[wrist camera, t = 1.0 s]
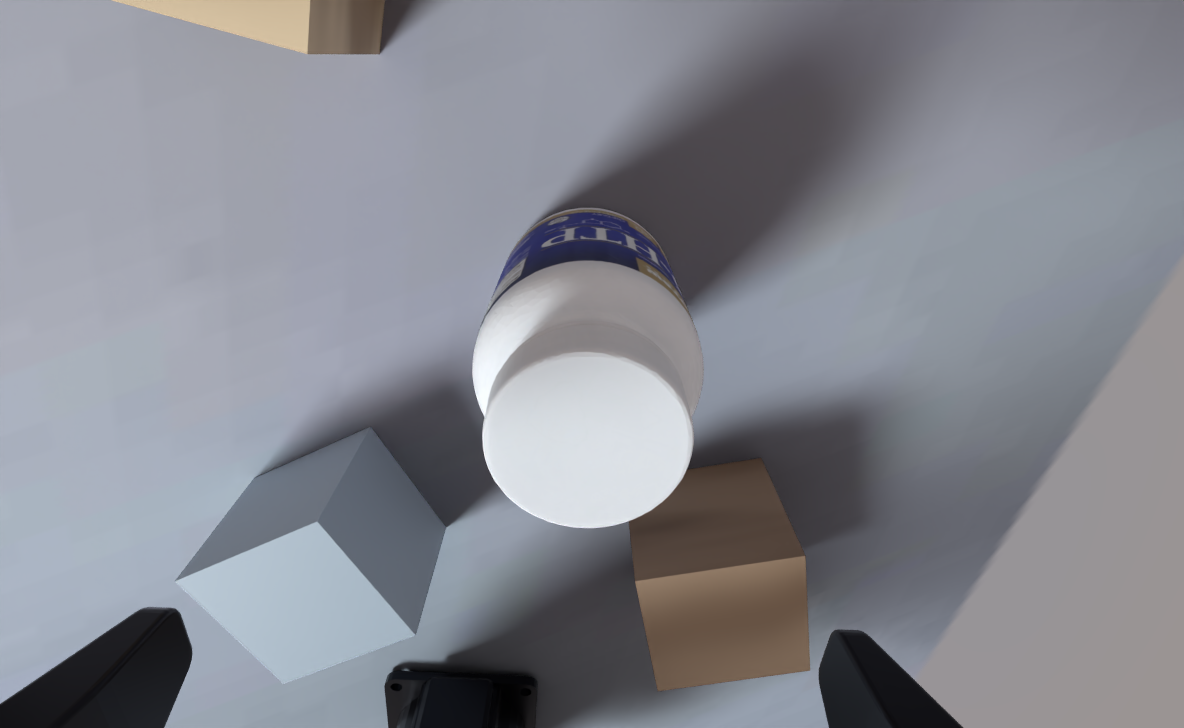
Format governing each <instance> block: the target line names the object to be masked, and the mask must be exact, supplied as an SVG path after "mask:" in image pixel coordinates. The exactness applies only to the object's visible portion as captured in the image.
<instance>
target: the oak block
mask: <svg viewBox="0 0 1184 728" xmlns="http://www.w3.org/2000/svg"><path fill="white" fill-rule="evenodd" d="M112 1H116V2H120V3H123V4H127V5H131V6H134V7H138V8H141V9H145V10H149V11H152V12H156V13H160V14H163V15H167V16H171V17H174V18H178V19H182V20H185V21H189V22H192V23H196V24H200V25H203V26H207V27H211V28H214V29H218V30H222V31H225V32H229V33H232V34H236V35H240V36H243V37H247V38H251V39H254V40H258V41H262V42H265V43H269V44H273V45H276V46H280V47H283V48H287V49H291V50H294V51H298V52H302V53H305V54H380V45H381V35H382V25H383V15H384V5H385V0H112Z"/></svg>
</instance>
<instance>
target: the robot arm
mask: <svg viewBox="0 0 1184 728" xmlns="http://www.w3.org/2000/svg"><path fill="white" fill-rule="evenodd" d="M191 660H192V646H191V643H190V640H189V637H188V634H187V631H186V628H185V625H184V623H183V620H182V617H181V614H180V612H179V611H177V610H176V609H175V608H162V607H147V608H143V609H141V610H139V611H137V612H135V613H134V614H132V615H131V616H129V617H128V618H126V619H125V620H123V621H122V622H120V623H119V624H117V625H116V626H114V627H113V628H111V629H110V630H109V631H107V632H106V633H104V634H103V635H101V636H100V637H98V638H97V639H95V640H94V641H92V642H91V643H89V644H88V645H86V646H85V647H83V648H82V649H81V650H79V651H78V652H76V653H75V654H73V655H72V656H70V657H69V658H67V659H66V660H64V661H63V662H61V663H60V664H58V665H57V666H55V667H54V668H52V669H51V670H50V671H48V672H47V673H45V674H44V675H42V676H41V677H39V678H38V679H36V680H35V681H33V682H32V683H30V684H29V685H27V686H26V687H24V688H23V689H22V690H20V691H19V692H17V693H16V694H14V695H13V696H11V697H10V698H8V699H7V700H5V701H4V702H2V703H1V704H0V728H164V727H165V724H166V722H167V720H168V717H169V715H170V712H171V710H172V708H173V705H174V703H175V701H176V698H177V696H178V693H179V691H180V689H181V686H182V684H183V682H184V679H185V677H186V674H187V672H188V670H189V667H190V664H191ZM819 684H820V689H821V694H822V698H823V703H824V707H825V712H826V716H827V721H828V725H829V728H963V727H962V726H961V725H960V724H959V723H958V722H957V721H956V720H955V719H954V718H953V717H952V716H951V715H950V714H948V712H947V711H946V710H945V709H943V708H942V707H941V706H940V705H939V704H938V703H937V702H936V701H935V700H934V699H933V698H932V697H931V696H930V695H929V694H928V693H927V692H926V691H925V690H924V689H923V688H922V687H921V686H920V685H919V684H918V683H917V682H916V681H915V680H914V679H913V678H912V677H911V676H910V675H909V674H908V673H907V672H906V671H905V670H904V669H902V668H901V667H900V666H899V665H898V664H897V663H896V662H895V661H894V660H893V659H892V658H891V657H890V656H889V655H888V654H887V653H886V652H885V651H884V650H883V649H882V648H881V647H880V646H879V645H878V644H877V643H876V642H875V641H874V640H873V639H872V638H871V637H870V636H868V635H867V634H866V633H864V632H862V631H859V630H835V631H834V632H832V633H831V635H830V638H829V641H828V644H827V646H826V649H825V652H824V655H823V658H822V661H821V664H820V667H819ZM537 686H538V684H537V681H536V680H535V679H534V678H532V677H529V676H512V675H487V674H461V673H436V672H410V671H394V672H391V673H390V674H389V675H388V676H387V680H386V683H385V696H386V706H387V716H388V727H389V728H535V718H536V702H537Z"/></svg>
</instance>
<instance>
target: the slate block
mask: <svg viewBox="0 0 1184 728" xmlns="http://www.w3.org/2000/svg"><path fill="white" fill-rule="evenodd" d="M445 530H446V527H445V525H444V524H443V523H442V521H441V520H440V519H439V517H438V516H437V515H436V513H435V512H434V511H433V509H432V508H431V507H430V505H429V504H428V503H427V501H426V500H425V499H424V497H423V496H422V495H421V493H420V492H419V491H418V489H417V488H416V487H415V485H414V484H413V483H412V481H411V480H410V479H409V477H408V476H407V475H406V473H405V472H404V471H403V469H402V468H401V467H400V465H399V464H398V463H397V461H396V460H395V459H394V457H393V456H392V455H391V453H390V452H389V451H388V449H387V448H386V447H385V445H384V444H383V443H382V441H381V440H380V439H379V437H378V436H377V435H376V433H375V432H374V431H373V429H372V428H371V427H368V428H366V429H364V430H362V431H359V432H357V433H355V434H353V435H350V436H348V437H346V438H344V439H341V440H339V441H337V442H335V443H332V444H330V445H328V446H326V447H323V448H321V449H319V450H317V451H314V452H312V453H310V454H308V455H305V456H303V457H301V458H299V459H296V460H294V461H292V462H290V463H287V464H285V465H283V466H281V467H278V468H276V469H274V470H272V471H269V472H267V473H265V474H263V475H260V476H258V477H256V478H254V479H253V480H252V482H251V483H250V484H249V485H248V487H247V488H246V489H245V491H244V492H243V493H242V495H241V496H240V497H239V499H238V500H237V501H236V502H235V504H234V505H233V506H232V508H231V509H230V510H229V512H228V513H227V514H226V515H225V517H224V518H223V519H222V521H221V522H220V523H219V525H218V526H217V527H216V528H215V530H214V531H213V532H212V534H211V535H210V536H209V538H208V539H207V540H206V541H205V543H204V544H203V545H202V547H201V548H200V549H199V551H198V552H197V553H196V554H195V556H194V557H193V558H192V560H191V561H190V562H189V564H188V565H187V566H186V567H185V569H184V570H183V571H182V573H181V574H180V575H179V577H178V578H177V579H176V580H175V582H176V583H177V584H178V585H179V586H180V587H181V588H182V589H183V590H184V591H185V592H187V593H188V594H189V595H190V596H191V597H192V598H193V599H194V600H195V601H196V602H197V603H198V604H199V605H200V606H201V607H202V608H203V609H205V610H206V611H207V612H208V613H209V614H210V615H211V616H212V617H213V618H214V619H215V620H216V621H217V622H218V623H219V624H220V625H221V626H222V627H224V628H225V629H226V630H227V631H228V632H229V633H230V634H231V635H232V636H233V637H234V638H235V639H236V640H237V641H238V642H239V643H240V644H241V645H243V646H244V647H245V648H246V649H247V650H248V651H249V652H250V653H251V654H252V655H253V656H254V657H255V658H256V659H257V660H258V661H259V662H260V663H262V664H263V665H264V666H265V667H266V668H267V669H268V670H269V671H270V672H271V673H272V674H273V675H274V676H275V677H276V678H277V679H278V680H280V681H281V682H282V683H283V684H285V683H288V682H291V681H293V680H296V679H299V678H302V677H304V676H307V675H310V674H312V673H315V672H318V671H321V670H323V669H326V668H329V667H331V666H334V665H337V664H339V663H342V662H345V661H348V660H350V659H353V658H356V657H358V656H361V655H364V654H367V653H369V652H372V651H375V650H377V649H380V648H383V647H386V646H388V645H391V644H394V643H396V642H399V641H402V640H404V639H407V638H410V637H413V636H415V635H416V632H417V629H418V625H419V622H420V618H421V615H422V611H423V608H424V604H425V600H426V597H427V593H428V590H429V586H430V583H431V579H432V576H433V572H434V569H435V565H436V561H437V558H438V554H439V551H440V547H441V544H442V540H443V537H444V533H445Z"/></svg>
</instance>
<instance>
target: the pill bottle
mask: <svg viewBox="0 0 1184 728" xmlns="http://www.w3.org/2000/svg"><path fill="white" fill-rule="evenodd" d="M703 370H704V367H703V355H702V350H701V345H700V341H699V338H698V334H697V331H696V328H695V326H694V323H693V320H692V318H691V316H690V314H689V311H688V309H687V306H686V304H685V301H684V298H683V296H682V293H681V291H680V289H679V287H678V285H677V282H676V280H675V277H674V275H673V272H672V270H671V267H670V265H669V262H668V260H667V258H666V256H665V254H664V252H663V250H662V249H661V247H660V245H659V244H658V243H657V241H656V240H655V239H654V238H653V237H652V235H651V234H650V233H649V232H647V231H646V230H645V229H644V228H643V227H642V226H640V225H639V224H638V223H636V222H635V221H633V220H632V219H630V218H628V217H626V216H624V215H622V214H619V213H616V212H613V211H610V210H606V209H600V208H576V209H570V210H565V211H562V212H559V213H556V214H553V215H551V216H549V217H547V218H545V219H543V220H542V221H540V222H538V223H537V224H536V225H534V226H533V227H532V228H530V229H529V230H528V231H527V232H526V233H525V234H524V235H523V236H522V237H521V239H520V240H519V241H518V242H517V244H516V245H515V247H514V249H513V250H512V252H511V254H510V256H509V258H508V260H507V262H506V264H505V267H504V269H503V272H502V274H501V276H500V279H499V281H498V284H497V286H496V289H495V291H494V294H493V296H492V299H491V301H490V303H489V306H488V309H487V311H486V314H485V316H484V319H483V322H482V324H481V327H480V330H479V333H478V337H477V341H476V345H475V349H474V354H473V370H472V376H473V383H474V389H475V393H476V397H477V400H478V403H479V406H480V408H481V411H482V413H483V415H484V417H485V418H484V423H483V431H482V440H483V451H484V456H485V460H486V463H487V466H488V469H489V471H490V473H491V475H492V477H493V479H494V481H495V482H496V483H497V485H498V486H499V487H500V488H501V490H502V491H503V492H504V494H505V495H506V496H507V497H508V498H509V499H510V500H512V501H513V502H514V503H515V504H516V505H518V506H519V507H520V508H522V509H523V510H525V511H527V512H528V513H530V514H532V515H534V516H536V517H538V518H541V519H543V520H546V521H548V522H551V523H555V524H558V525H563V526H569V527H575V528H600V527H608V526H613V525H617V524H621V523H624V522H627V521H630V520H633V519H635V518H637V517H639V516H642V515H643V514H645V513H647V512H649V511H651V510H652V509H654V508H655V507H656V506H658V505H659V504H660V503H662V502H663V501H664V500H665V499H666V498H667V497H668V496H669V495H670V494H671V493H672V492H673V490H674V489H675V488H676V487H677V486H678V484H679V483H680V481H681V480H682V478H683V476H684V474H685V472H686V470H687V468H688V466H689V462H690V459H691V456H692V451H693V445H694V430H693V421H692V416H693V414H694V412H695V409H696V407H697V404H698V401H699V398H700V394H701V389H702V385H703Z"/></svg>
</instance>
